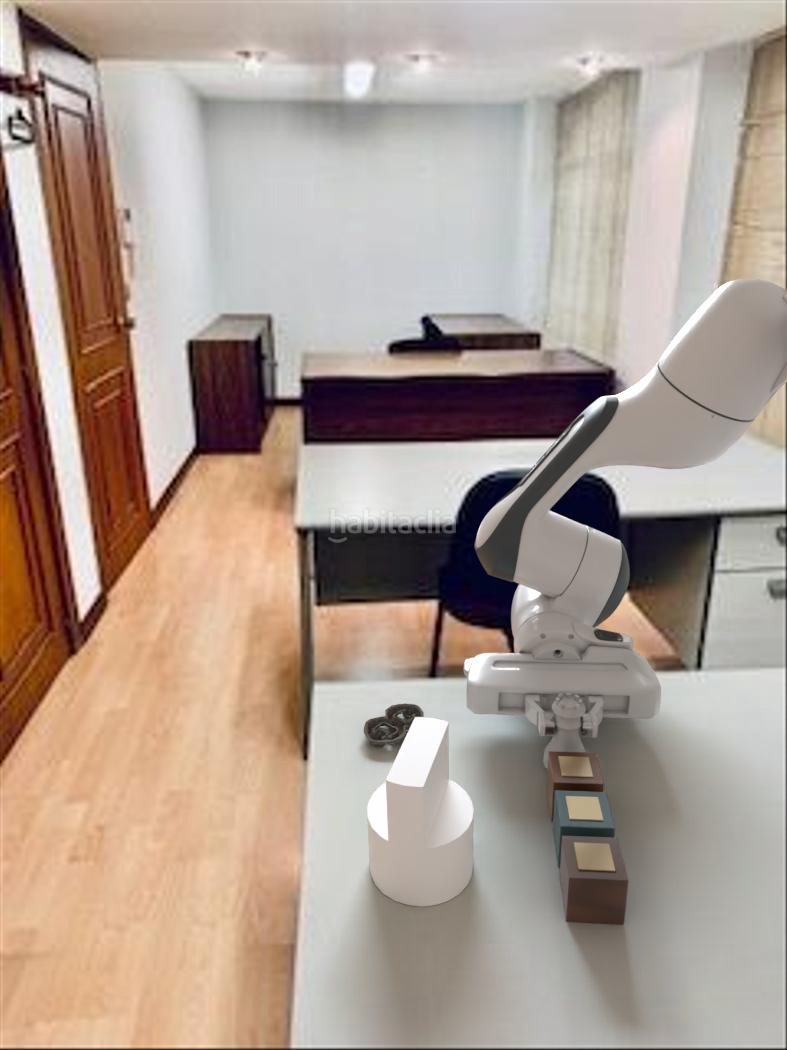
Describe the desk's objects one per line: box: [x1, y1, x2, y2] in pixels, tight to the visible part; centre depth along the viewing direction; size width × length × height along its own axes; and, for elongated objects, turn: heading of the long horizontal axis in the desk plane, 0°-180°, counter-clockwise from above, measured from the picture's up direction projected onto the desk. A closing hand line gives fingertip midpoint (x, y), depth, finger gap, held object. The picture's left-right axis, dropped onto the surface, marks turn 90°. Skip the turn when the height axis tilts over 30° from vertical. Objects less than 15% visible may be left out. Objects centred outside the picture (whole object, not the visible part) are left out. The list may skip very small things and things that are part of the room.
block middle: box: [552, 790, 616, 869], centre depth 66 cm, size 4×4×5 cm
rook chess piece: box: [542, 693, 587, 770], centre depth 76 cm, size 4×4×8 cm
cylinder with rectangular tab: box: [366, 716, 475, 908], centre depth 64 cm, size 9×9×12 cm
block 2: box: [559, 836, 629, 925], centre depth 61 cm, size 4×4×5 cm
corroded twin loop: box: [363, 703, 425, 746], centre depth 84 cm, size 5×8×1 cm, turn 139°
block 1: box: [546, 751, 605, 823], centre depth 71 cm, size 4×4×5 cm
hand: (568, 731), depth 75 cm, fingers closed on rook chess piece, 3 cm apart
